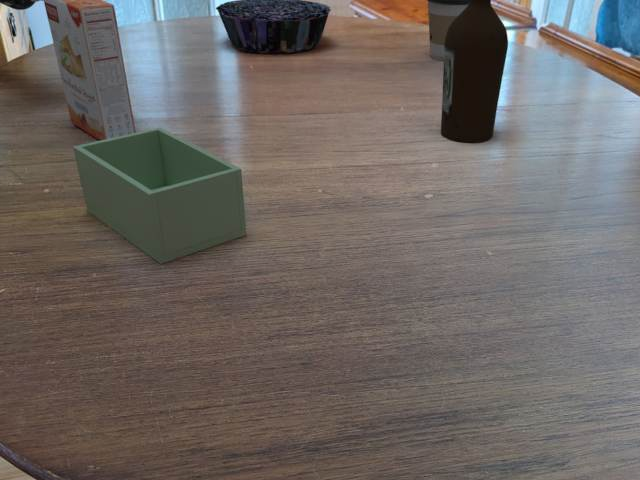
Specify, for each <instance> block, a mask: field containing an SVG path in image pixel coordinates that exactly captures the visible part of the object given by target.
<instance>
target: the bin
mask: <svg viewBox="0 0 640 480" xmlns="http://www.w3.org/2000/svg"><path fill="white" fill-rule="evenodd" d="M72 149H73V153H74V158H75V161H76V167H77V171H78V176H79V180H80V185H81V189H82V194H83V198H84V202H85V208H86V211H87V212H88V213H89V214H90V215H92V216H93V217H94V218H96V219H97V220H99V221H100V222H101V223H103V224H104V225H105V226H107V227H108V228H110V229H111V230H112V231H115V232H116V233H117V234H118V235H120V236H121V237H123V239H125V240H127V242H129V243H131V244H132V245H133V246H135V247H136V248H138V249H139V250H140V251H142V252H143V253H145V255H147V256H148V257H150V258H151V259H153V260H154V261H155V262H157V263H158V264H159V265H163V264H167V263H169V262H171V261H174V260H177V259H178V260H179V259H180V258H183V257H186V256H188V255H189V256H190V255H192V254H196V253H198V252H200V251H205V250H206V249H210V248H212V247H216V246H219V245H221V244H225V243H228V242H231V241H233V240H236V239H239V238H242V237H245V236H247V235H248V233H247V224H246V223H247V222H246V211H245V199H244V198H245V197H244V188H243V187H244V185H243V174H242V169H241V168H240V167H238V166H237V165H234V164H232V163H230V162H228V161H226V160H225V159H223V158H221V157H219V156H217V155H215V154H214V153H212V152H209V151H207V150H205V149H203V148H202V147H199V146H198V145H195V144H194V143H192V142H189V141H188V140H186V139H184V138H182V137H180V136H178V135H176V134H175V133H172V132H171V131H168V130H167V129H164V128H162V127H161V126H159V127H156V128H155V127H154V128H151V129H147V130H146V129H145V130H142V131H138V132H137V131H136V133H132V134H128V135H123V136H119V137H114V138H110V139H105V140H101V141H99V140H97V141H92V142H87V143H82V144H78V145H73V146H72Z"/></svg>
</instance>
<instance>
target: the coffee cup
mask: <svg viewBox="0 0 640 480" xmlns="http://www.w3.org/2000/svg"><path fill="white" fill-rule="evenodd" d="M426 1H427V11H428V35H429V36H428V37H429V53H430V57H431V59H433V60H435V61H436V60H437V61H442V62H444V43H445V37H446V34H447V31H448V28H449V26H450V25H451V23H452V22H453V21H454V20H455V19H456V18H457V17H458V16H459V15H460V14H461V12H462V11H463V10H464V9H465V8H466V7H467V6H468V5H469V4H470V1H471V0H426Z"/></svg>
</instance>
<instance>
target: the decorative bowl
mask: <svg viewBox="0 0 640 480" xmlns="http://www.w3.org/2000/svg"><path fill="white" fill-rule="evenodd" d="M215 9H216V10H217V13H218V15H219V17H220V19H221V22H222V24H223V27H224V29H225V32H226V34H227V36H228V39H229V41H230V43H231V44H232V45H233V46H234V47H235V48H236V49H237V50H239V51H242V52H247V53H251V54H255V53H256V54H257V53H260V54H276V53H277V54H278V53H282V54H294V53H301V52H307V51H311V49H316V48H317V47H318V46H319V45H320V44H321V40H322V37H323V35H324V31H325V27H326V23H327V21H328V18H329V15H330V13H331V11H332V9H331V7H330V6H329V5H327V4H324V3H320V2H317V1H310V0H308V1H307V0H232V1H226V2H224V3H220V4H219V5H218V6H216V7H215Z"/></svg>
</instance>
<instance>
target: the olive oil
mask: <svg viewBox="0 0 640 480" xmlns="http://www.w3.org/2000/svg"><path fill="white" fill-rule="evenodd" d="M508 48H509V37H508V31H507V29H506V26H505V24H504V23H503V21H502V20H501V18H500V17H499V15H498V14H497V13H496V11H495V9H494V7H493V6H492V0H471V1H470V4H469V5H468V6H467V7H466V8H465V9H464V10H463V11H462V12H461V14H460V15H459V16H458V17H457V18H456V19H455V20H454V21H453V22H452V23H451V25H450V26H449V28H448V31H447V34H446V37H445V43H444V61H443V70H442V72H443V73H442V95H441V97H442V99H441V119H440V121H441V122H440V134H441V135H442V136H443V137H444V138H447V139H449V140H452V141H455V142H461V143H483V142H486V141H489V140H490V139H492V137H493V135H494V130H495V123H496V117H497V110H498V104H499V98H500V92H501V87H502V82H503V77H504V76H503V75H504V70H505V65H506V59H507V55H508V54H507V53H508V50H509V49H508Z"/></svg>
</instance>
